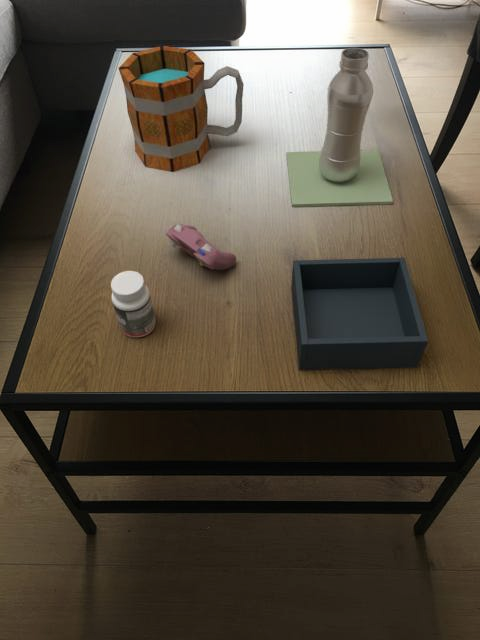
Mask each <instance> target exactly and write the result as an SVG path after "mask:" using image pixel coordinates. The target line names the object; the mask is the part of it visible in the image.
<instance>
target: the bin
mask: <svg viewBox="0 0 480 640" xmlns="http://www.w3.org/2000/svg"><path fill="white" fill-rule="evenodd" d="M290 286H291V287H290V288H291V289H290V290H291V299H292V300H291V301H292V308H293V309H292V310H293V311H292V312H293V320H294V332H295V344H296V354H297V364H298V365H297V366H298V371H318V370H320V371H322V370H361V369H366V370H367V369H403V368H404V369H407V368H408V369H410V368H418V367H419V364H420V362H421V360H422V357H423V355H424V352H425V350H426V348H427V347H428V343H429V339H428V334H427V331H426V328H425V325H424V321H423V317H422V314H421V310H420V306H419V303H418V299H417V296H416V292H415V289H414V286H413V282H412V277H411V274H410V271H409V267H408V264H407V260H406V258H405V257H373V258H372V257H371V258H338V259H337V258H335V259H334V258H333V259H300V260H299V259H297V260H296V259H295V260H294V259H293V261H292V272H291V285H290Z"/></svg>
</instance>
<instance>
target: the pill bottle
mask: <svg viewBox="0 0 480 640" xmlns="http://www.w3.org/2000/svg"><path fill="white" fill-rule="evenodd" d="M110 289H111V303H112V307H113V309H114V312H115V315H116V318H117V321H118V324H119V327H120V330H121V332H122V333H123V334H124V335H126V336H127V337H130V338H142V337H146V336H147V335H149V334H150V333H152V332H153V330H154V329H155V328H156V324H157V318H156V314H155V310H154V307H153V302H152V299H151V297H152V296H151V292H150V290H149V288H148V286H147V285H146V282H145V279H144V277H143V275H142V274H141V273H139V272H138V271H135V270H124V271H121V272H119V273H117V274H116V275H115V276H114V277H113V278H112V280H111V282H110Z"/></svg>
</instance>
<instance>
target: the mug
mask: <svg viewBox="0 0 480 640" xmlns="http://www.w3.org/2000/svg"><path fill="white" fill-rule="evenodd" d="M118 71H119V75H120V77H121V81H122V83H123V87H124V93H125V100H126V101H125V102H126V110H127V115H128V119H129V121H130V126H131V129H132V133H133V138H134V140H133V141H134V152H135V153H136V154H137V156H138V158H139V160H140V161H141V162H142V164H143V166H144V167H146V168H150V169H156V170H162V171H167V172H171V173H173V172H176V171H179V170H184V169H185V168H190V167H193V166H196V165H199V164H201V163H202V161H203V160H204V158H205V156H206V155H207V154H208V153H209V152H208V151H209V150H210V148H211V142H210V136H209V135H216V136H217V135H218V136H223V137H230V136H233V135H234V134H236V133H238V131H239V128H240V127H241V124H242V121H243V97H244V87H245V86H244V81H243V79H242V76H241V74H240V71H239V70H238V69H236V68H233V67H232V66H228V65H226V66H224V67H222V68H219V69H217V70H216V71H215V72H214V74H212V76H211V77H209V78H207V79H205V62H204V61H203V60H202V58H200V57H199V56H198V55H197V54H196V53H195V52H194V51H193V49H191V48H190V49H189V48H182V47H175V46H168V45H160V46H156V47H152V48H148V49H143V50H139V51H135V52H132V53H131V54H130V55H129V57H127V58H126V59H125V61H124V62H122V64H121V65H120V66H119V67H118ZM227 76H229V77H232V78H234V79H235V83H236V91H235V92H236V93H235V99H234V100H235V101H234V103H235V104H234V105H235V107H234V109H235V120H234V122H233V124H232V125H230V126H227V127H225V126H221V125H215V124H208V111H209V106H208V102H207V96H206V90H208V89H212V88H214V87H215V86H216V85H217V83H219V81H220V80H222V79H223V78H225V77H227Z"/></svg>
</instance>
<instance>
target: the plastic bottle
mask: <svg viewBox="0 0 480 640" xmlns="http://www.w3.org/2000/svg"><path fill="white" fill-rule="evenodd" d="M338 65H339V66H338V67H339V69H340V70H339V71H338V72H337V73H336V74H335V75H334V76H333V77H332V79H331V80H330V82H329V85H328V87H327V92H326V93H327V94H326V96H327V97H326V99H327V122H326V131H325V136H324V140H323V145H322V148H321V150H320V151H321V153H320V157H319V169H320V172H321V173H322V175H323V176H324V177H325V178H326V179H328V180H331V181H335V182H344V181H348V180H350V179H351V178H353V177H354V176H355V175H356V174H357V172H358V169H359V167H360V163H361V153H360V150H361V147H362V146H361V145H362V134H363V130H364V125H365V121H366V117H367V114H368V111H369V108H370V106H371V102H372V100H373V97H374V96H373V95H374V85H373V82H372V80H371V78H370V76H369V74H368V73H367V70H368V69H369V51H368V50H366V49H364V48H360V47H348V48H344V49H342V51H341V54H340V60H339V64H338Z"/></svg>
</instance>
